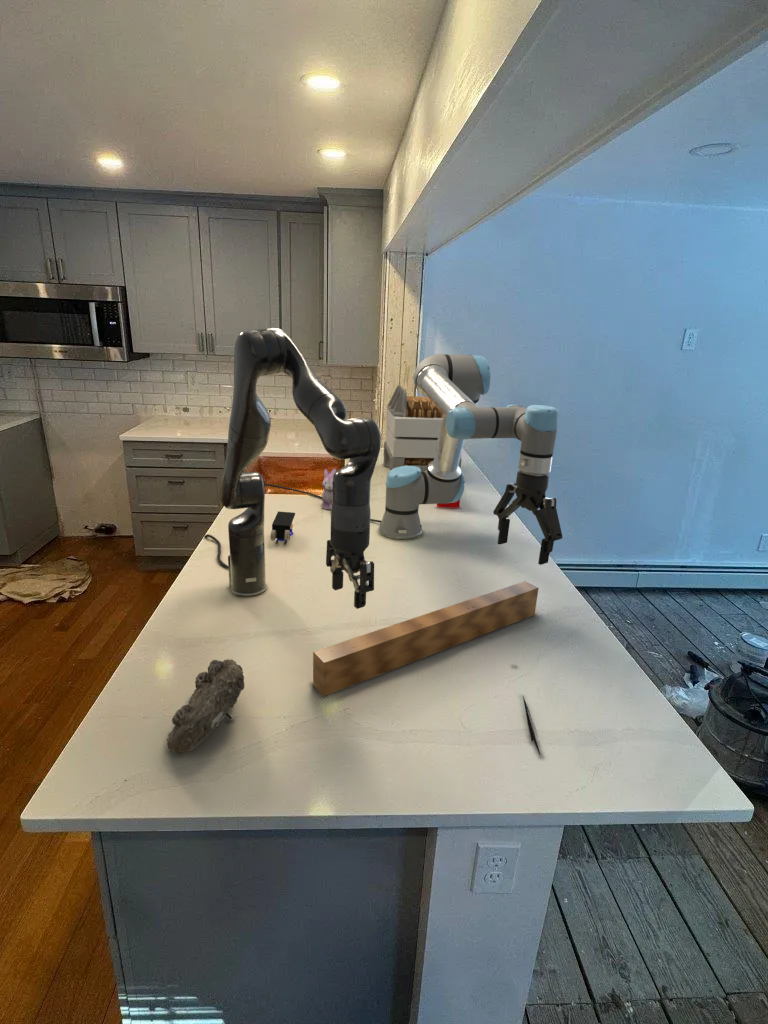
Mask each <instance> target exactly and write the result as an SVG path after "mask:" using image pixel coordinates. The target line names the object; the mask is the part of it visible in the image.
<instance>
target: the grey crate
mask: <svg viewBox="0 0 768 1024" xmlns="http://www.w3.org/2000/svg"><path fill="white" fill-rule="evenodd" d="M407 394H408V393H407V390H406V389H404V388H403V387H402V385H399V384H398V385H397V386H396V388H395V390H394V392H393V394H392V395H391V398H390V400H389V402H388V404H387V405H386V413H385V414H386V415H385V423H386V428H385V438H384V442H383V466H384V467H388V468H389V471H390V470H392V469H394V468H397V467H401V466H416V467H428V465H429V463H430V462H432V461H434V456H435V451H436V447H437V442H438V437H439V432H440V427H441V422H442V418H443V413H442V412H441V411H440V409H439V408H438V407H437V406H436V405H435V404H434V403H433V402H432V401H431V399H430V398H427V397H424V396H415V395H414V396H413V395H412V396H411V395H407ZM462 453H463V451H462V452H461V454H462ZM462 461H463V460H462V455H461V456H460V461H459V465H458V466H459V467H460V469H461V470H462Z"/></svg>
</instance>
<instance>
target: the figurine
mask: <svg viewBox="0 0 768 1024" xmlns="http://www.w3.org/2000/svg"><path fill="white" fill-rule="evenodd" d="M336 471H337V469H336V468H333V469H332V470H331V471H330V472H329V470H328V469H326V468H325V469H324V472H323V474H324V475H323V476H324V479H323V481H322V483H321V484H322V485H321V486H322V488H323V491H322V493H321V497H322V503H321V507H322V509H325V510H331V507H332V500H333V499H332V495H333V476H334V473H335V472H336Z"/></svg>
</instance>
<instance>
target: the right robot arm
mask: <svg viewBox="0 0 768 1024" xmlns="http://www.w3.org/2000/svg"><path fill="white" fill-rule="evenodd" d="M413 384H414V387H415V388H416V390H417V391H418V393H419V394H420V396H422V397H427V398H430V399H431V401H432V402H433V403H434V404H435V405H436V406H437V407H438V408H439V409H440V411H441V412H442V413H443V418H442V422H441V427H440V432H439V437H438V442H437V447H436V451H435V456H434V461H432V462H430V463H429V465H428V466H427V469H426V470H422V469H421V467H420V466H407V465H404V466H401V467H397V468H394V469H392V470H390V469H389V470H388V472H387V475H386V480H385V481H386V482H385V504H384V505H385V507H384V508H385V509H384V513H383V515H382V519H381V520H379V519H375V518H374V519H373V518H370V522H375V523H379V526H378V533H379V534H380V535H381V536H382V537H385V538H387V539H389V540H395V541H410V540H415V539H418V538H420V537H421V536H422V535H423V525H422V524H421V518H420V515H419V507H420V505H435V504H436V505H437V504H442V503H443V504H448V503H454V502H457V501H458V500H459V499H460V500H461V498H462V496H463V494H464V491H465V482H466V481H465V475H464V473H463V472H462V468H461V469H460V467H459V466H458V465H459V461H460V456H461V457H462V453H463V448H464V443H465V440H472V439H473V440H478V439H517V440H518V441H520V442H521V443H520V450H519V459H518V466H517V468H518V471H517V473H516V480H515V483H514V482H513V483H508V484H506V487H505V490H504V493H503V495H502V496H501V497H500V500H498V503H497V504H496V506H495V508H494V509H493V511H492V513H493V515H495V516H497V518H498V523H497V524H498V525H497V530H498V537H497V544H498V546H499V545H504V544H507V543H508V540H509V539H508V538H509V531H510V523H511V519H510V516H511V515H512V514H514V512H516V511H517V510H518V509H519V508H522V509H526V510H527V511H529V512H531V513H532V515H534V516H535V518H536V520H537V523H538V526H539V527H540V530H541V532H542V534H543V537H544V538H541V542H540V550H539V556H538V562H537V564H538V565H539V566H542V565H545V564H549V559H550V553H552V552H553V551H554V550H553V549H554V543H555V542H556V541H560V540H562V539H563V532H562V528H561V523H560V520H559V515H558V514H559V513H558V509H557V498H556V497H547V495H546V492H547V490H548V488H549V484H550V483H549V482H550V476H551V475H550V474H549V473H551V471H552V464H553V457H554V456H553V455H554V451H555V450H554V449H555V445H556V439H557V434H558V428H559V414H560V412H559V410H558V408H556V407H554V406H549V405H544V404H531V405H528V406H527V407H525V406H522V405H519V404H508V405H506V406H503V407H501V406H499V407H497V406H495V407H492V406H491V407H490V406H489V407H488V406H478V405H477V404H478V403H479V402H480V399H481V398H480V397H481V396H483V395H486V394H488V393H489V391H490V389H491V384H492V373H491V368H490V363H489V362H488V360H487V358H486V357H485V356H483V355H479V354H478V355H475V354H448V353H447V354H445V353H437V354H432V355H429V356H427V357H425V358H424V359H422V360H421V361H420V362H419V363H418V364H417V365H416V368H415V370H414V373H413ZM461 452H462V453H461ZM264 486H267V487H273V488H278V489H282V490H283V489H284V490H287V491H291V492H298V493H301V494H306V495H309V496H313V497H316V498H318V499H320V500H321V499H322V495H318V494H315V493H312V492H308V491H305V490H300V489H296V488H292V487H286V486H282V485H281V486H280V485H276V484H271V483H266V482H264ZM514 496H516V497H515V499H513V497H514ZM512 499H513V501H511V500H512ZM510 502H511V503H510Z"/></svg>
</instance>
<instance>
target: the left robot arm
mask: <svg viewBox="0 0 768 1024" xmlns="http://www.w3.org/2000/svg"><path fill="white" fill-rule="evenodd" d="M234 343H235V344H234V351H233V353H234V354H233V393H232V402H231V403H232V404H231V410H230V416H229V423H228V424H229V425H228V434H227V446H226V454H225V455H226V456H225V461H224V465H223V469H222V474H221V478H220V484H219V485H220V486H219V499H220V501H221V504H222V505H223V508H226V509H228V510H240V509H245V510H244V511H242V513H240V514H238V515H236V516H234V517H232V518H231V519H230V520H229V522H228V524H227V525H228V527H227V529H228V531H227V532H228V547H229V555H228V556H227V564H226V563H225V562H223V561H222V559H221V554H222V550H221V547H222V545H221V542H220V540H218V539H217V537H215V536H213V535H211V534H205V535H204V536H203V538H204V537H205V538H204V539H207V538H210V539H212V540H213V541H214V542H215V543H216V544H217V556H216V559H217V562H218V563H219V564H220V565H221V566H222V567H224V568H225V569H227V570H228V583H229V588H230V589H231V592H232V593H233V594H235V595H237V596H241V597H253V596H258V595H260V594H262V593H264V592H265V591H266V589H267V582H266V581H267V580H266V579H267V578H266V553H265V552H266V550H265V549H266V548H265V547H266V545H265V504H266V503H265V499H266V487H265V485H264V483H265V482H264V478H263V475H262V474H261V473H260V472H259V471H245V470H246V469H247V468H248V467H249V466H251V464H252V463H253V462H254V461H256V460H257V458H258V457H259V456H260V455H261V454H262V453H263V452H264V450H265V448H266V447H267V445H268V442H269V437H270V431H271V427H272V426H271V425H272V419H271V416H270V413H269V411H268V409H267V408H266V406H265V403H263V401H262V400H261V399H260V397H259V395H258V393H257V384H258V380H259V378H260V377H264V376H270V375H275V374H279V373H284V374H286V375H287V376H288V377H290V378H291V380H292V389H291V394H292V399H293V402H294V404H295V405H296V408H297V410H299V412H300V413H301V414H302V415H303V416H304V418H306V419H307V420H308V421H309V422H310V423H311V425H313V427H314V429H315V430H316V433H317V435H318V437H319V439H320V442H321V443H322V446H323V448H324V449H325V451H326V452H327V453H328V454H329V456H331V457H332V458H335V459H336V460H337V459H338V460H348V462H347V464H346V465H344V466H342V467H340V468H339V469H336V472H335V473H334V476H333V495H332V499H333V500H332V507H331V509H330V538H329V539H327V540H326V557H325V565H326V567H329V570H330V573H331V574H332V575H331V578H332V579H331V588H332V590H333V591H339V590H341V589H343V588H344V572H345V573H346V574H347V577H348V579H349V581H350V582H351V583H352V586H353V589H354V594H353V607H354V608H355V609H356V610H358V609H361V608H364V607H365V606H366V604H367V593H369V592H372V591H374V590H375V562H374V561H372V560H371V561H367V560H366V558H365V551H366V550H367V548H368V547H369V546H370V537H371V521H370V519H371V480H372V477H373V475H374V472H375V468H376V465H377V462H378V458H379V455H380V453H381V452H380V451H381V447H382V432H381V430H380V427H379V425H378V423H377V422H376V421H375V420H374V419H373V418H371V417H368V416H361V417H360V416H359V417H353V418H347V407H346V405H345V403H344V402H343V401H342V399H340V398H339V397H338V396H337V394H335V393H334V392H333V391H332V390H331V388H329V387H328V386H327V385H326V384H325V383H324V382H323V380H321V379H320V378H319V376H318V375H317V374H316V373H315V371H314V370H313V368H312V366H311V365H310V364H309V362H308V361H307V360H306V358H305V357H304V355H303V354H302V352H301V351H300V350H299V348H298V346H297V345H296V344H295V342H294V341H293V340H292V338H291V337H290V336H289V334H287V332H285V331H284V330H283V329H281V328H278V327H267V328H258V329H249V330H245V331H242V332H240V333H239V334H238V335H237V337H236V340H235V342H234ZM244 471H245V472H244ZM332 557H334V558H333V559H332ZM357 573H359V574H357ZM355 574H357V575H355ZM358 580H359V581H358Z"/></svg>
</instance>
